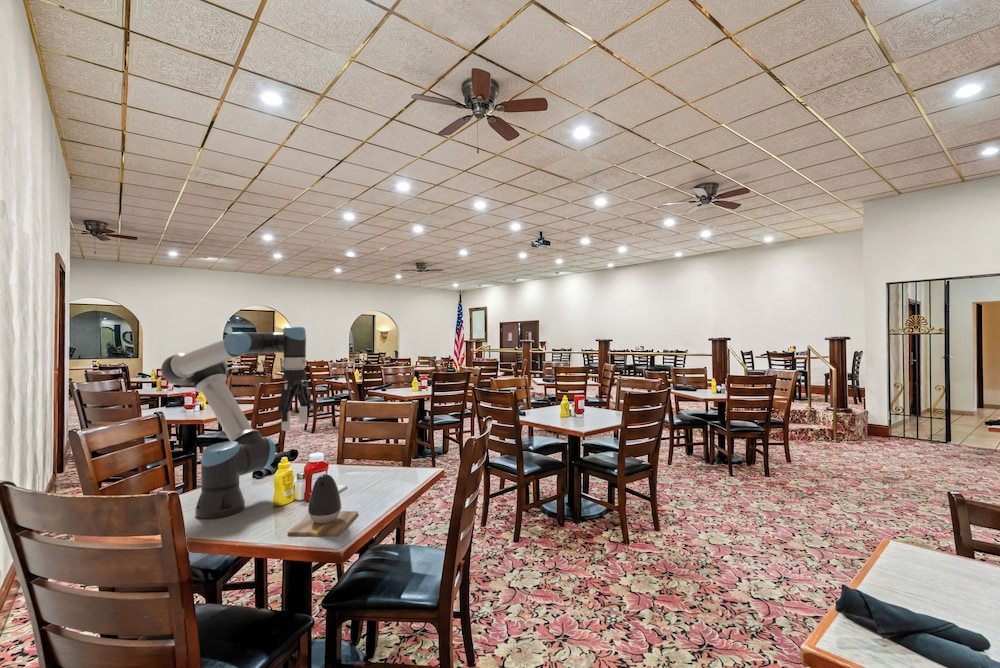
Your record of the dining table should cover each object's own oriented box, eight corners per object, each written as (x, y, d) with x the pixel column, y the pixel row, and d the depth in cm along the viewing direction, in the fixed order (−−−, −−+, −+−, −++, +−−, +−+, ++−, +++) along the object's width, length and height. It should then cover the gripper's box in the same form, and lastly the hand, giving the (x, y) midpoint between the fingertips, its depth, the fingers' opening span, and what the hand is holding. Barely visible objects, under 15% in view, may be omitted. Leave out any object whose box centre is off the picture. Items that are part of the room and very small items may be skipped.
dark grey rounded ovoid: (303, 527, 150) (302, 479, 151) (314, 515, 161) (314, 470, 161) (335, 527, 151) (335, 479, 151) (345, 514, 161) (345, 470, 161)
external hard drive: (311, 497, 183) (328, 487, 195) (331, 499, 181) (347, 488, 194) (311, 493, 183) (328, 483, 195) (331, 494, 181) (347, 484, 194)
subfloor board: (287, 535, 147) (287, 532, 147) (312, 513, 165) (312, 510, 165) (338, 536, 146) (338, 532, 146) (357, 514, 164) (357, 511, 164)
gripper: (288, 371, 161) (288, 433, 161) (319, 366, 186) (319, 420, 186) (266, 371, 161) (266, 433, 161) (300, 366, 186) (300, 420, 186)
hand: (294, 427), depth 173 cm, fingers open, 13 cm apart
